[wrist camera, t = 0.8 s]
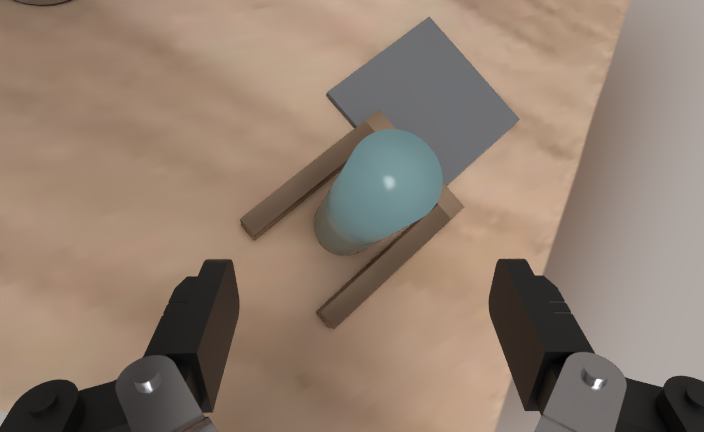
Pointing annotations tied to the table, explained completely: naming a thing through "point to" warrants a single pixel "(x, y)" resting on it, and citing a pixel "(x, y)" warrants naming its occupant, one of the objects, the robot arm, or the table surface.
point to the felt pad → (428, 97)
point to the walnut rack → (389, 257)
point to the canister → (379, 192)
